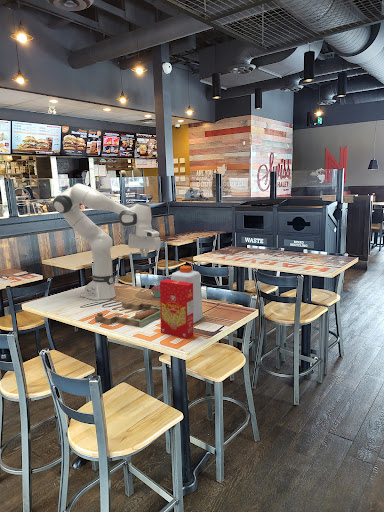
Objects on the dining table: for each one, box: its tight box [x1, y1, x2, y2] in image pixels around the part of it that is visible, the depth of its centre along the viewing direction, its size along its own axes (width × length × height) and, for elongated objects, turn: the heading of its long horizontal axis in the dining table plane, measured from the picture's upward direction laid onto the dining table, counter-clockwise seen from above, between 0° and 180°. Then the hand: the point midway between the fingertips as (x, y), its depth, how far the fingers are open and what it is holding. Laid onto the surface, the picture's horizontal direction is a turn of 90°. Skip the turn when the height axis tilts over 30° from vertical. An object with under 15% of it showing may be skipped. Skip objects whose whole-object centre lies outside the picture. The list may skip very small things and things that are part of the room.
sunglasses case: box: [130, 309, 158, 320], centre depth 201 cm, size 18×7×7 cm
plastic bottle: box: [170, 265, 204, 325], centre depth 198 cm, size 15×15×28 cm
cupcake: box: [150, 278, 160, 298], centre depth 242 cm, size 9×8×12 cm
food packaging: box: [159, 278, 194, 340], centre depth 178 cm, size 15×5×25 cm, turn 58°
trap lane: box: [94, 302, 161, 328], centre depth 204 cm, size 28×30×3 cm
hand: (144, 256), depth 218 cm, fingers closed
